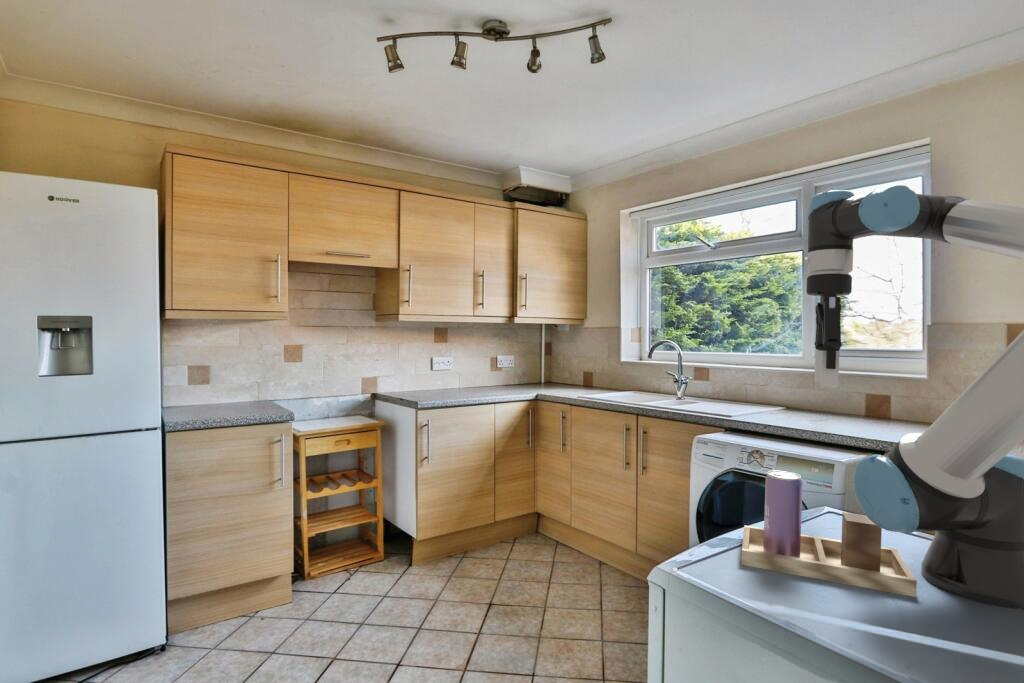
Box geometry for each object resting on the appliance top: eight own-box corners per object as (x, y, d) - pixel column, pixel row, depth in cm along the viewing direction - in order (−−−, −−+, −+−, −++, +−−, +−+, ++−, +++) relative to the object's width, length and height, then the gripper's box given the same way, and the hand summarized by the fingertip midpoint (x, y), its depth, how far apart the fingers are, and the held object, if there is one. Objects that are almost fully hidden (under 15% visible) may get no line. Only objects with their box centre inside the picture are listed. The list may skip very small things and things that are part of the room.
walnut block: (874, 568, 94) (876, 516, 94) (879, 579, 90) (881, 525, 90) (840, 562, 97) (842, 512, 96) (844, 573, 92) (846, 520, 92)
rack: (896, 567, 97) (896, 549, 97) (916, 601, 84) (916, 580, 84) (743, 541, 107) (744, 525, 107) (741, 568, 95) (741, 550, 95)
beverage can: (804, 565, 95) (807, 480, 95) (767, 561, 96) (770, 477, 96) (794, 552, 101) (796, 471, 100) (759, 548, 102) (762, 469, 102)
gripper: (802, 281, 117) (799, 379, 118) (812, 267, 95) (808, 388, 95) (843, 280, 114) (839, 381, 115) (862, 265, 92) (858, 391, 92)
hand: (825, 384), depth 105 cm, fingers open, 13 cm apart
